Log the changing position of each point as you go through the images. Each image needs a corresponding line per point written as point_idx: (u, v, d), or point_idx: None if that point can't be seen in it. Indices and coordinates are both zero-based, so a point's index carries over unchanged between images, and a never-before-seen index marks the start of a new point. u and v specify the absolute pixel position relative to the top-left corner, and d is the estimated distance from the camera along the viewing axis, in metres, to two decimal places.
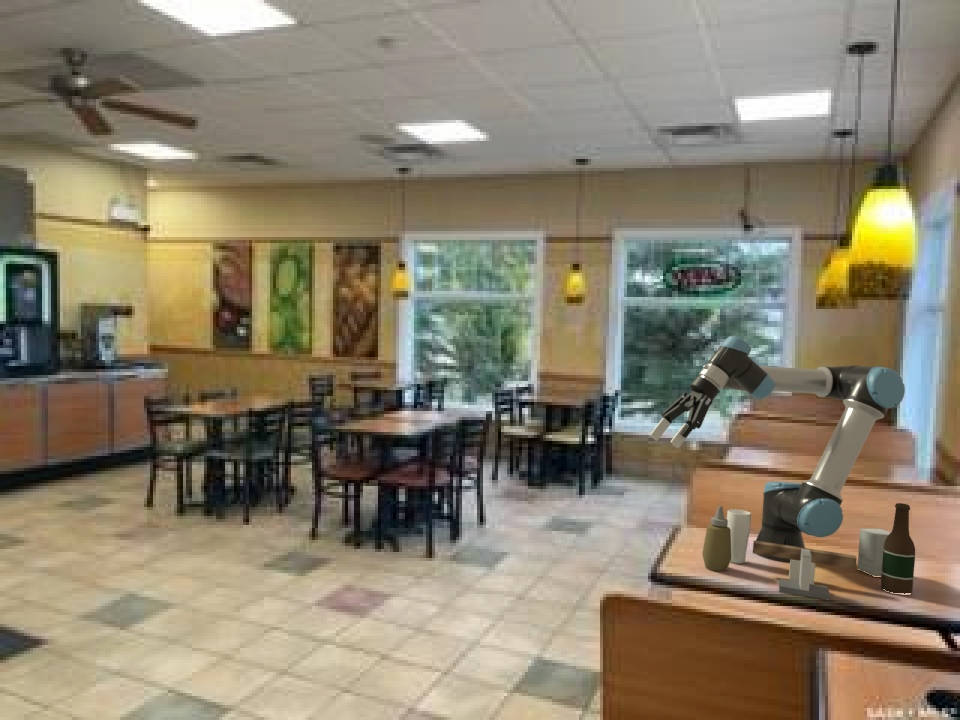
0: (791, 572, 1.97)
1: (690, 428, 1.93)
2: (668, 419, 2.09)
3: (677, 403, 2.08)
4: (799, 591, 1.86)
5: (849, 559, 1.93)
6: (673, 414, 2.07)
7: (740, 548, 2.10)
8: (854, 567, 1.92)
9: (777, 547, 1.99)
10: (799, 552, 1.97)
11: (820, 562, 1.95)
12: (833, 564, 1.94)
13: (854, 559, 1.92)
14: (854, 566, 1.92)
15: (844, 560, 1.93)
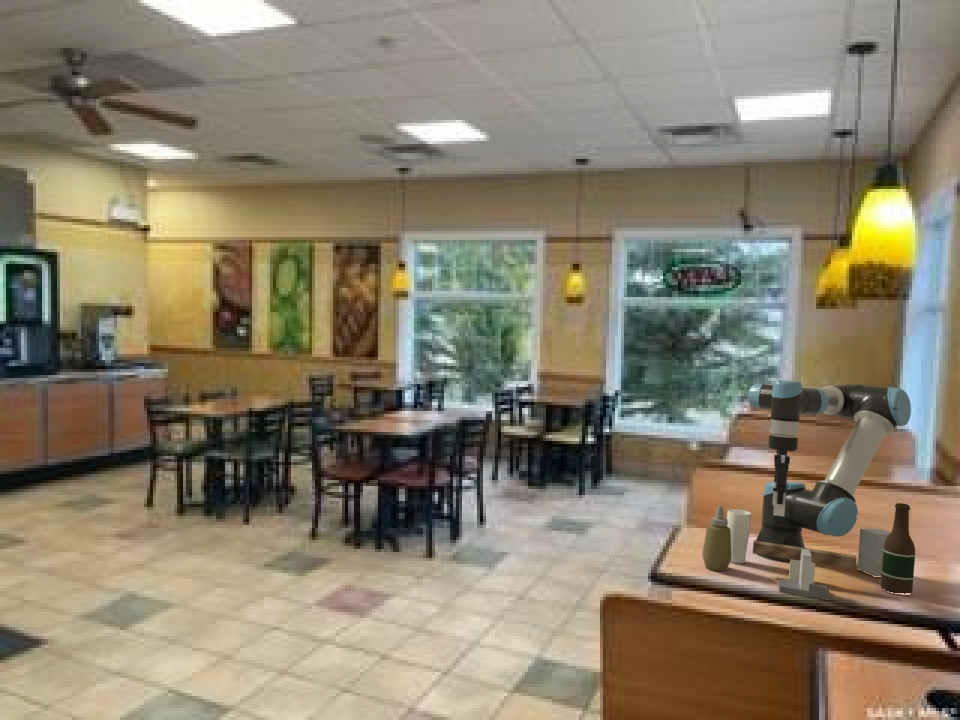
0: (791, 572, 1.97)
1: (780, 494, 1.92)
2: None
3: None
4: (799, 591, 1.86)
5: (849, 559, 1.93)
6: None
7: (740, 548, 2.10)
8: (854, 567, 1.92)
9: (777, 547, 1.99)
10: (799, 552, 1.97)
11: (820, 562, 1.95)
12: (833, 564, 1.94)
13: (854, 559, 1.92)
14: (854, 566, 1.92)
15: (844, 560, 1.93)
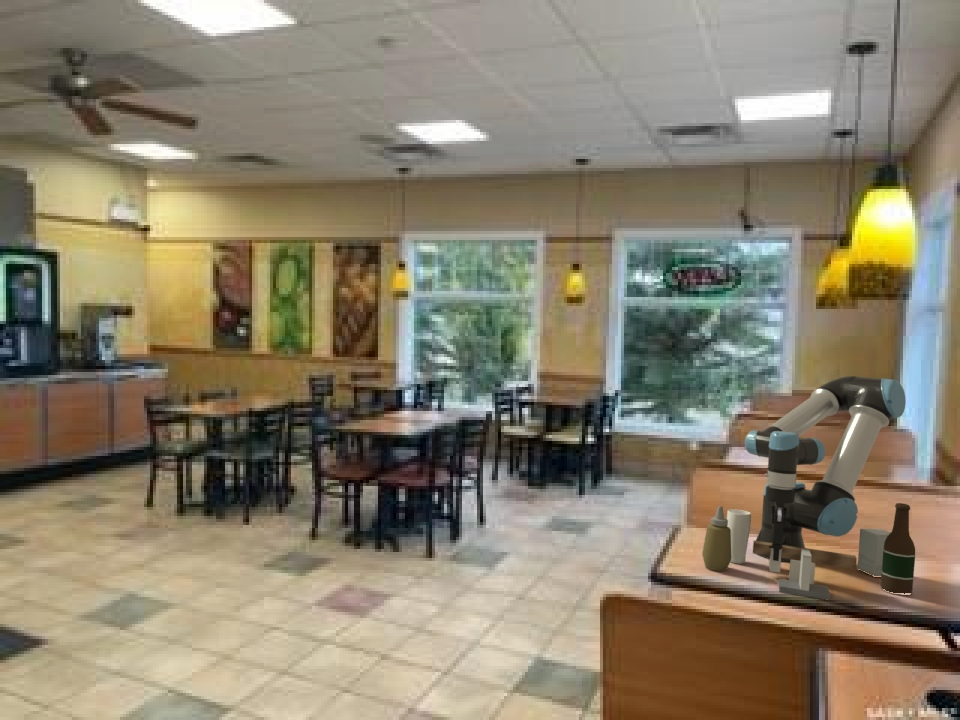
0: (791, 572, 1.97)
1: (776, 551, 1.97)
2: None
3: None
4: (799, 591, 1.86)
5: (849, 559, 1.93)
6: None
7: (740, 548, 2.10)
8: (854, 567, 1.92)
9: None
10: (799, 552, 1.97)
11: (820, 562, 1.95)
12: (833, 564, 1.94)
13: (854, 559, 1.92)
14: (854, 566, 1.92)
15: (844, 560, 1.93)
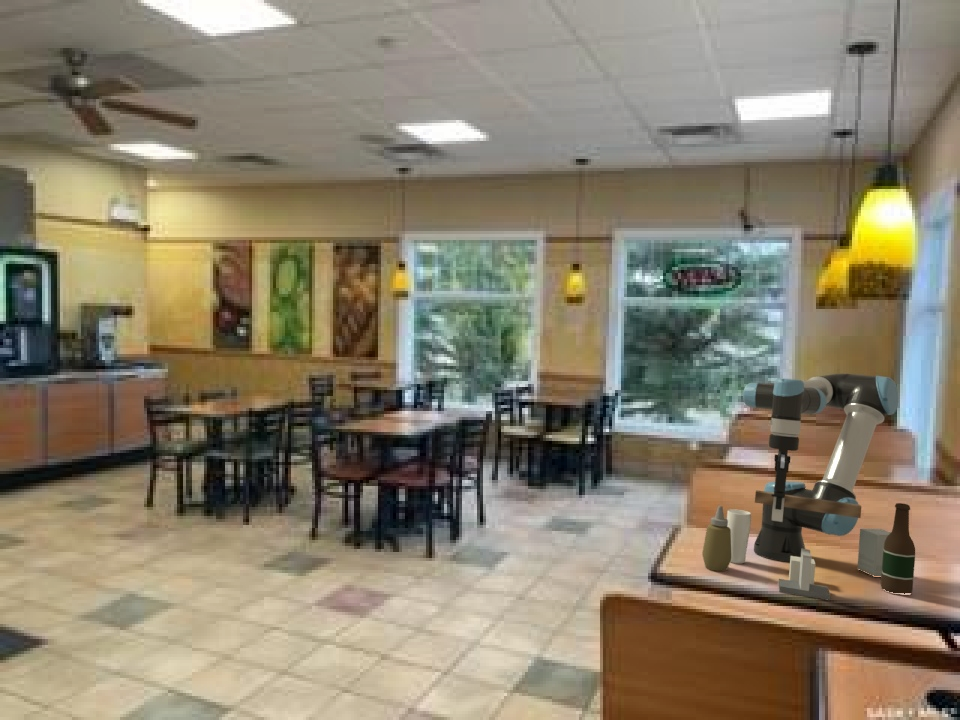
0: (791, 572, 1.97)
1: (779, 499, 1.93)
2: None
3: None
4: (799, 591, 1.86)
5: (854, 507, 1.88)
6: None
7: (740, 548, 2.10)
8: (859, 516, 1.87)
9: None
10: (802, 501, 1.92)
11: (824, 511, 1.90)
12: (837, 513, 1.89)
13: (858, 508, 1.87)
14: (859, 515, 1.87)
15: (848, 509, 1.88)
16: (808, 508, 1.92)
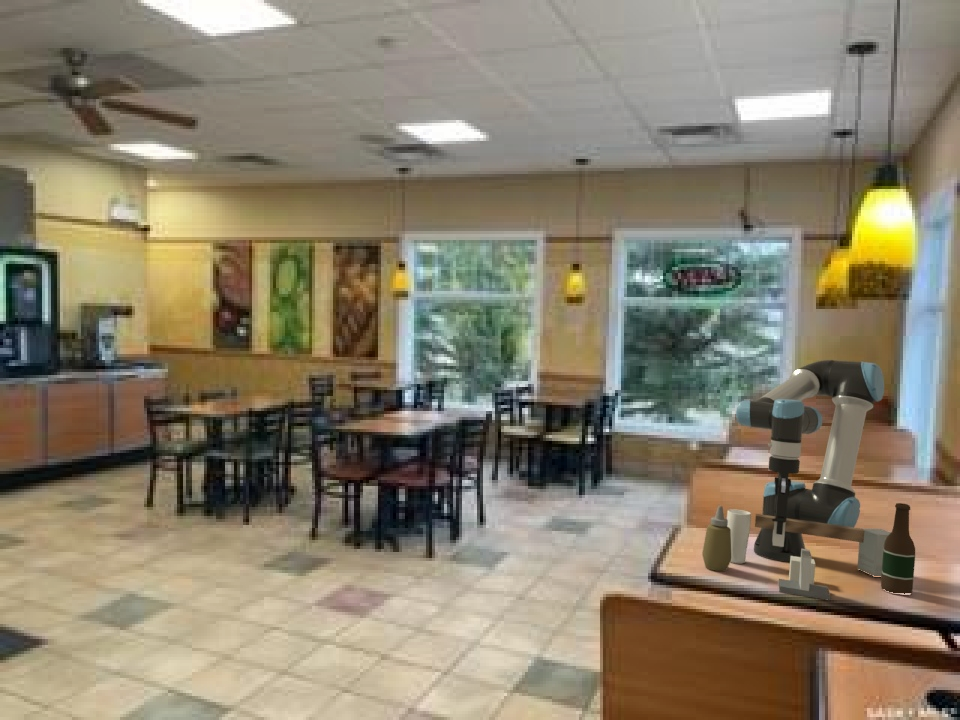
0: (791, 572, 1.97)
1: (780, 524, 1.88)
2: None
3: None
4: (799, 591, 1.86)
5: (857, 531, 1.83)
6: None
7: (740, 548, 2.10)
8: (862, 540, 1.83)
9: None
10: (804, 525, 1.87)
11: (826, 535, 1.86)
12: (839, 537, 1.84)
13: (861, 532, 1.83)
14: (862, 539, 1.83)
15: (851, 533, 1.83)
16: (810, 532, 1.87)
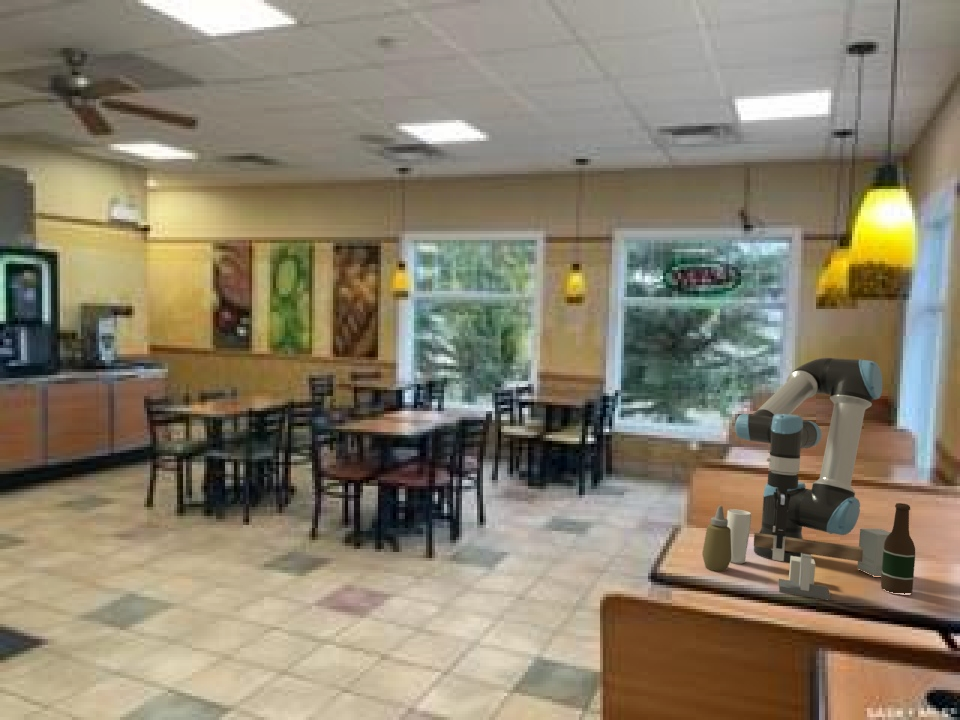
0: (791, 572, 1.97)
1: (780, 538, 1.85)
2: None
3: None
4: (799, 591, 1.86)
5: (855, 551, 1.83)
6: None
7: (740, 548, 2.10)
8: (860, 559, 1.83)
9: None
10: (802, 544, 1.88)
11: (824, 554, 1.86)
12: (838, 556, 1.85)
13: (860, 551, 1.83)
14: (860, 558, 1.83)
15: (849, 553, 1.84)
16: (808, 552, 1.87)
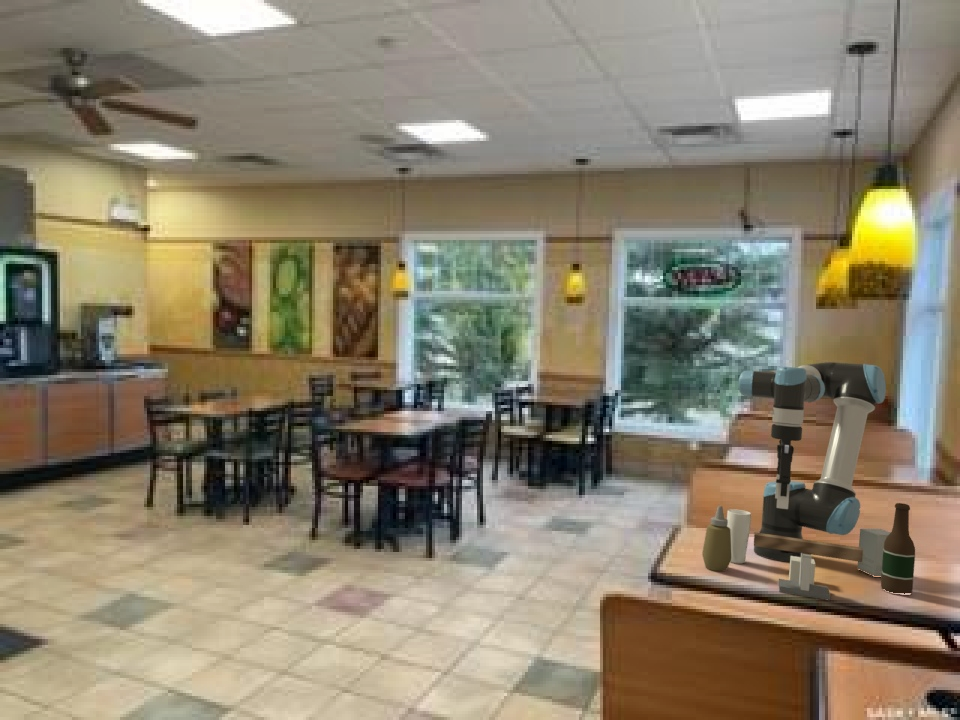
0: (791, 572, 1.97)
1: (784, 485, 1.83)
2: None
3: None
4: (799, 591, 1.86)
5: (855, 551, 1.83)
6: None
7: (740, 548, 2.10)
8: (860, 560, 1.83)
9: (779, 539, 1.90)
10: (802, 544, 1.88)
11: (824, 555, 1.86)
12: (838, 557, 1.85)
13: (860, 552, 1.83)
14: (860, 559, 1.83)
15: (849, 553, 1.84)
16: (808, 552, 1.87)
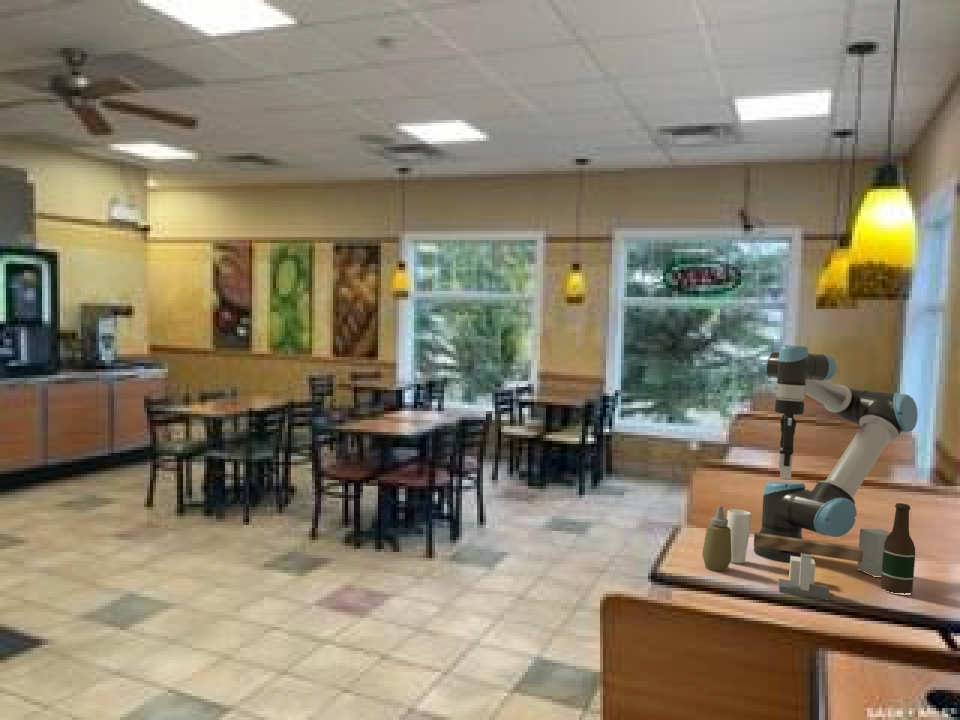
0: (791, 572, 1.97)
1: (787, 456, 1.95)
2: None
3: None
4: (799, 591, 1.86)
5: (855, 551, 1.83)
6: None
7: (740, 548, 2.10)
8: (860, 560, 1.83)
9: (779, 539, 1.90)
10: (802, 544, 1.88)
11: (824, 555, 1.86)
12: (838, 557, 1.85)
13: (860, 552, 1.83)
14: (860, 559, 1.83)
15: (849, 553, 1.84)
16: (808, 552, 1.87)
